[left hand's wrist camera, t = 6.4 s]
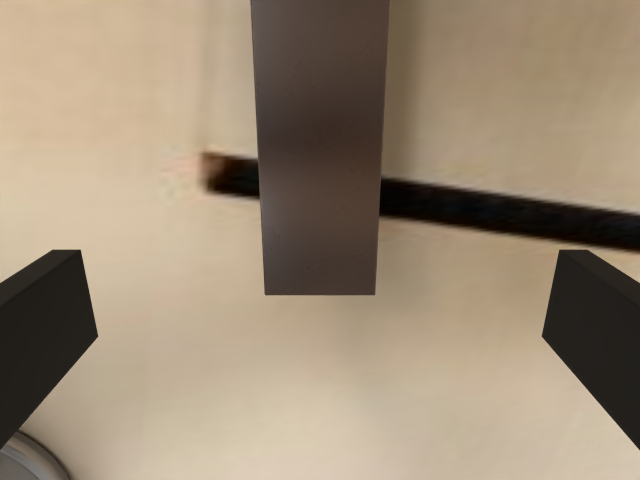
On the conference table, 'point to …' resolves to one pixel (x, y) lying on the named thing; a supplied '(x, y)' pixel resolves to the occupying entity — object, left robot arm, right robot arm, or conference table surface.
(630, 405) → the left robot arm
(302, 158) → the beam
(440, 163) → the conference table surface
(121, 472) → the conference table surface
